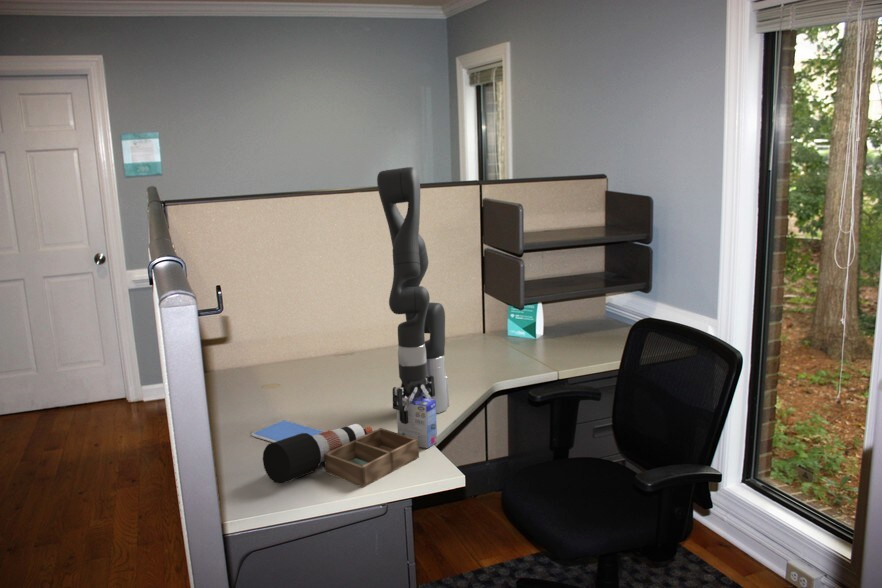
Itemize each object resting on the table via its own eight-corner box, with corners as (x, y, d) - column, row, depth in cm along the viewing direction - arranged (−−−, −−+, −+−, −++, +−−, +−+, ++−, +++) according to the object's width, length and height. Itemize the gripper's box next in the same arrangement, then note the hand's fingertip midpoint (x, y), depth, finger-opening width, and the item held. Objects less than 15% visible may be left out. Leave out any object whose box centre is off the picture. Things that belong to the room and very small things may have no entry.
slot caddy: (381, 445, 197) (380, 427, 196) (419, 457, 189) (418, 439, 188) (325, 472, 183) (324, 454, 182) (363, 487, 174) (362, 468, 173)
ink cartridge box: (438, 441, 198) (436, 391, 195) (428, 449, 193) (426, 397, 190) (408, 435, 203) (405, 386, 200) (397, 443, 198) (394, 393, 195)
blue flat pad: (250, 437, 208) (250, 433, 208) (284, 422, 218) (284, 418, 218) (296, 452, 197) (295, 448, 196) (329, 436, 206) (329, 432, 206)
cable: (375, 455, 202) (388, 427, 198) (282, 492, 175) (295, 461, 171) (352, 432, 207) (364, 405, 203) (258, 465, 180) (270, 434, 176)
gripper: (420, 352, 201) (422, 407, 204) (383, 365, 190) (386, 423, 194) (440, 356, 196) (443, 413, 199) (404, 369, 186) (407, 429, 189)
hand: (415, 418), depth 196 cm, fingers open, 8 cm apart
